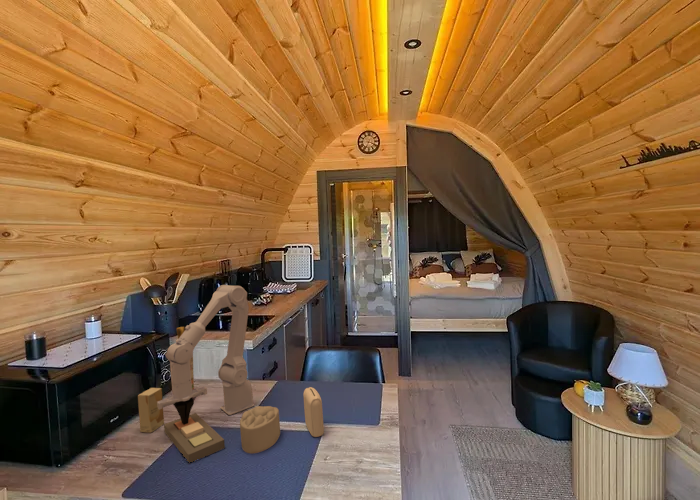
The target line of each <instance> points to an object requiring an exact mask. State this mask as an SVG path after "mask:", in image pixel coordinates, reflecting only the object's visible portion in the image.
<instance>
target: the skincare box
mask: <svg viewBox="0 0 700 500" xmlns="http://www.w3.org/2000/svg"><path fill="white" fill-rule="evenodd" d="M161 400H163V388H161V387H149V389H147V390H144V391H142V392H141V393H139V394H138V395H137V404H138V405H137V406H138V417H139V431H140V433H154V431H156V430H157V429H159V428H160V427H162V426H164V424H165V417H164V415H165V414H164V408H163V409H160V410H159V409H158V407H157V402H158V401H161Z"/></svg>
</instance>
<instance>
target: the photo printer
mask: <svg viewBox="0 0 700 500" xmlns="http://www.w3.org/2000/svg"><path fill="white" fill-rule="evenodd" d="M302 397H303V407H304V421H305V425H306V429H307V430H308V431H309V433H310V435H311V436H312V437H314V438H317V437H321V436H323V435H324V433H325V426H324V415H323V414H324V412H323V402H322V398H321V396H320V393H319V392H318V391H317V390H316V388H314V387H312V386H309V387H306V388H305V389H304V390H303V395H302Z"/></svg>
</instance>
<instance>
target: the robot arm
mask: <svg viewBox="0 0 700 500" xmlns="http://www.w3.org/2000/svg"><path fill="white" fill-rule="evenodd" d="M227 307H228V308H229V309H230V310H231V312H232V315H231V321H230V329H229V335H228V336H229V337H228V345H227V351H226V352H227V353H226V356H225V357H224V358H223V359H222V360H221V365H220V367H219V369H218V371H217V372H218V373H217V375H218V378H219V380H220V381H221V383H222V390H223V402H224V403H223V404H224V405H223V406H220V409H221V410H222V411H223V412H224V413H226V414H227V415H229V416H231V415H234V414H237V413H240V412H242V411H244V410H249V409H250V408H252V407H253V408H254V407H255V404H254V396H253V387H252V386H253V385H252V382H251V381H250V380H249V379H248V376H249V375H248V371H247V365H248V364H247V362H246V360H245V359H244V348H245V339H246V332H247V327H248V326H247V325H248V319H249V318H248V317H249V311H250V307H249V303H248V292H247V291H246V290H245V288H244V287H242V286H241V285H228V284H222V285H219V286H218V287H217V288H216V291H214V292H213V294H212V297H211V299H210V301H209V302H208V303H207V305H206V306H205V308H204V309H203V311H202V312H201V314H200V316H199V317H198V319H197V320H196V321H195V322H191V323H189V325H188V324H187V325H186V326H184V330H185V331H184V332H183V334H182V335H181V336H180V338H179V339H178V338H177V339H176V340H175V343H173V344H171V345H170V346H169V347H168V348H167V350H166V353H165V357H166V359H167V360H168V361H169V366H170V370H169V371H170V379H171V392H172V395H169V396H168V397H165V398H162V400H161V401H158V402H157V407H158V409H159V410H160V409H163V410H164V408H165V407H169V406H174V408H175V410H176V411H177V413H178V415H179V417H180V418H181V421H182V423H183V425H184V424H187V423H188V420H189V415H191V411H192V408H193V406H194V405H195V399H194V398H196V397H199V396H202V395H203V396H205V395H208V391H207V390H208V389H207V387H206V386H203V387H198V388H194V389H192V382H191V370H190V359H191V358H192V356H193V357H194V350H195V347H197V345H198V344H199V342H200V341H201V340H202V338H203V337H204V335H206V327H207V325H209V323H210V322H211V321H212V319H214V317H215V316H216V315H217V314H218V313H219V312H220V310H221V309H224V308H227ZM180 418H179V419H180Z"/></svg>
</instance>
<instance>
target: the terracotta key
mask: <svg viewBox="0 0 700 500" xmlns="http://www.w3.org/2000/svg"><path fill="white" fill-rule="evenodd" d="M193 423H196V422H195V421H194V420H193V419H192V418H191V417H190V418H189V420H188V423H187V424H184V425H183V423H182V421H179V422H176V423H174V424H175V427H176V428H177V429H178V430H181V428H182V427H185V426H188V425H191V424H193Z"/></svg>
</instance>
